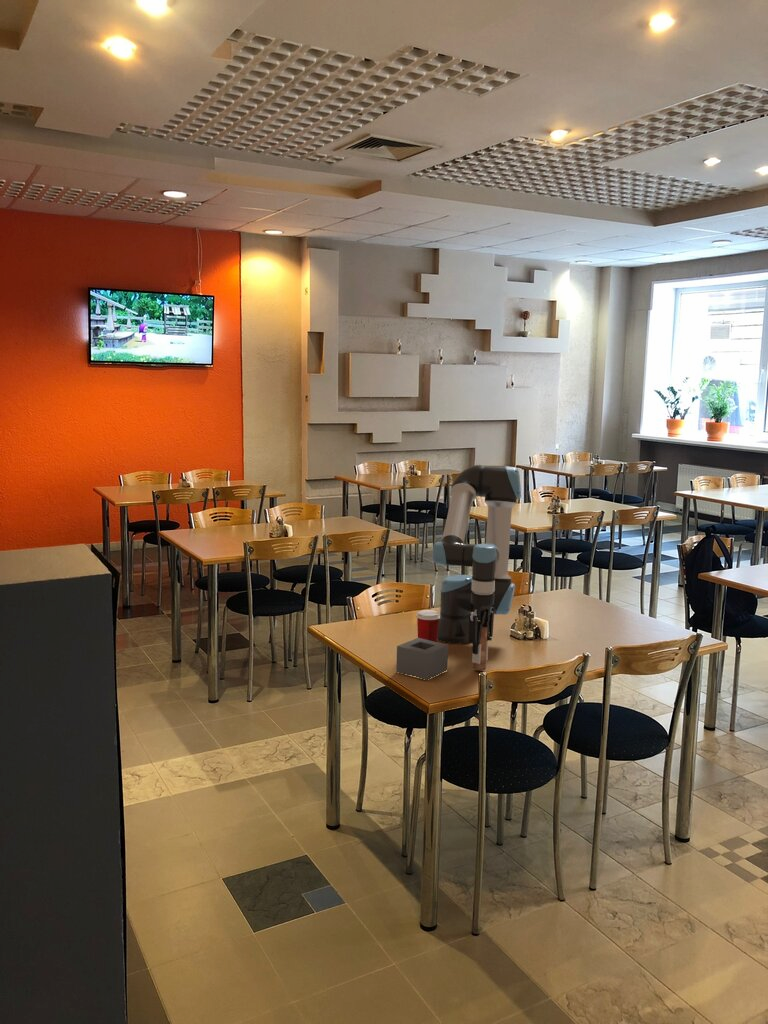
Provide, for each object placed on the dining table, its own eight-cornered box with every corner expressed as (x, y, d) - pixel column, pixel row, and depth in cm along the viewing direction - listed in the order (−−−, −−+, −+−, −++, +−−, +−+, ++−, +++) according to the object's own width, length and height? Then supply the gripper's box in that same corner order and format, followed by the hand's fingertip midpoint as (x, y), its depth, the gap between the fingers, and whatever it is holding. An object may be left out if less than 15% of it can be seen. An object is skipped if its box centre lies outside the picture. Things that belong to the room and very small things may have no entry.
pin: (477, 665, 285) (479, 625, 283) (487, 668, 282) (489, 627, 280) (471, 668, 282) (472, 627, 279) (481, 671, 279) (483, 630, 277)
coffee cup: (437, 650, 302) (439, 609, 300) (439, 658, 294) (441, 616, 292) (413, 650, 302) (415, 609, 300) (415, 658, 294) (416, 615, 291)
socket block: (417, 663, 288) (418, 637, 287) (447, 671, 281) (448, 645, 280) (396, 672, 279) (397, 646, 277) (426, 681, 272) (427, 653, 270)
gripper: (486, 585, 287) (483, 652, 291) (459, 595, 273) (456, 665, 277) (505, 589, 282) (502, 656, 286) (479, 599, 269) (476, 670, 273)
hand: (479, 660), depth 282 cm, fingers closed on pin, 4 cm apart
